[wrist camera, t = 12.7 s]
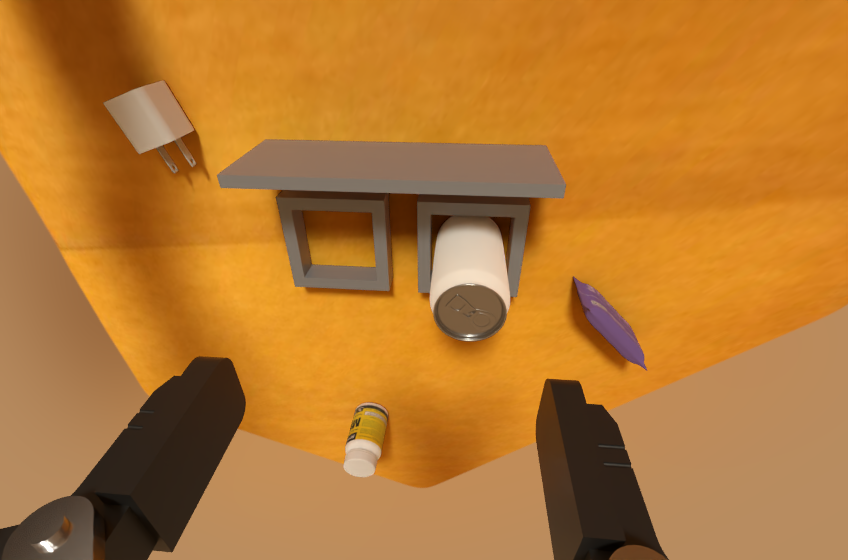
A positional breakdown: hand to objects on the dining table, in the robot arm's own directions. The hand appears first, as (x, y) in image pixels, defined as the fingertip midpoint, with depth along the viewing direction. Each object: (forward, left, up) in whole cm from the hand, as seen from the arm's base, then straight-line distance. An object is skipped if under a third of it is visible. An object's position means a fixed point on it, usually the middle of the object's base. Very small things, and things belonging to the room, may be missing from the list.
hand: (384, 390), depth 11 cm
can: (+3, -12, -30) cm, 33 cm away
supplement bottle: (-9, -40, -30) cm, 51 cm away
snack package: (+18, -20, -30) cm, 41 cm away
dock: (-3, -10, -30) cm, 32 cm away
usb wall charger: (-24, -2, -30) cm, 39 cm away
